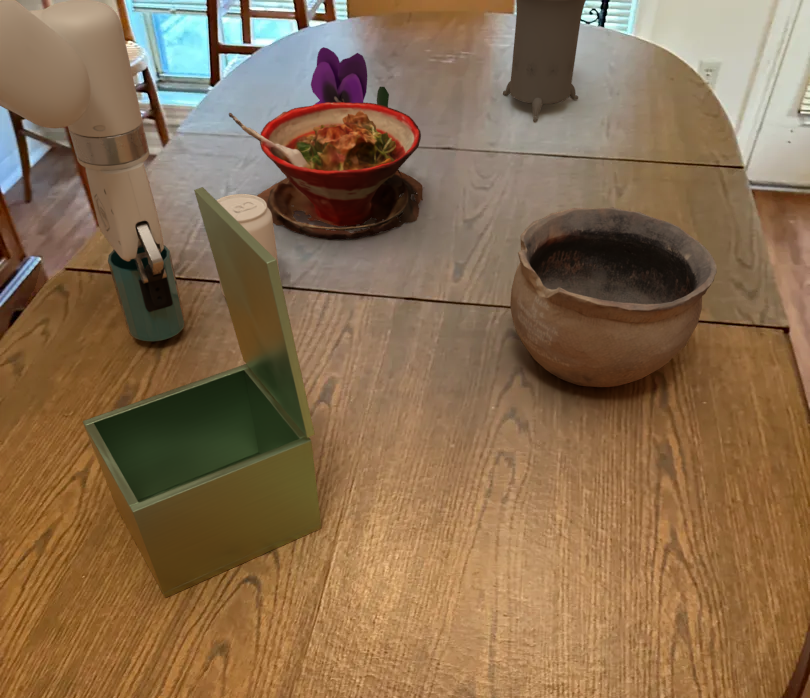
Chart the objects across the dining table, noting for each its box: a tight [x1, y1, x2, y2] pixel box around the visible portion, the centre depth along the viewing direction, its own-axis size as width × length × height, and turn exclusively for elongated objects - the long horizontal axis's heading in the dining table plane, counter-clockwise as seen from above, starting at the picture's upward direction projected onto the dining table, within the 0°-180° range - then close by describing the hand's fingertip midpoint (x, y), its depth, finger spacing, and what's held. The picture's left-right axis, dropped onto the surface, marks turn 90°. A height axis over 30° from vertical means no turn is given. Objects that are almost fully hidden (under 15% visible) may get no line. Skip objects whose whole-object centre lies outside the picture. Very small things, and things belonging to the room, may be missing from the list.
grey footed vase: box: [502, 0, 587, 123], centre depth 143 cm, size 19×15×25 cm
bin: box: [82, 363, 322, 599], centre depth 76 cm, size 17×14×12 cm
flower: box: [310, 47, 390, 107], centre depth 139 cm, size 15×15×14 cm
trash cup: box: [107, 244, 186, 342], centre depth 96 cm, size 7×7×10 cm
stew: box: [228, 102, 424, 241], centre depth 117 cm, size 28×24×16 cm
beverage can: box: [215, 193, 280, 298], centre depth 104 cm, size 8×8×12 cm
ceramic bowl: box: [509, 206, 717, 388], centre depth 92 cm, size 22×22×15 cm
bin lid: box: [193, 186, 316, 438], centre depth 67 cm, size 17×14×1 cm
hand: (148, 291), depth 96 cm, fingers closed on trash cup, 7 cm apart
